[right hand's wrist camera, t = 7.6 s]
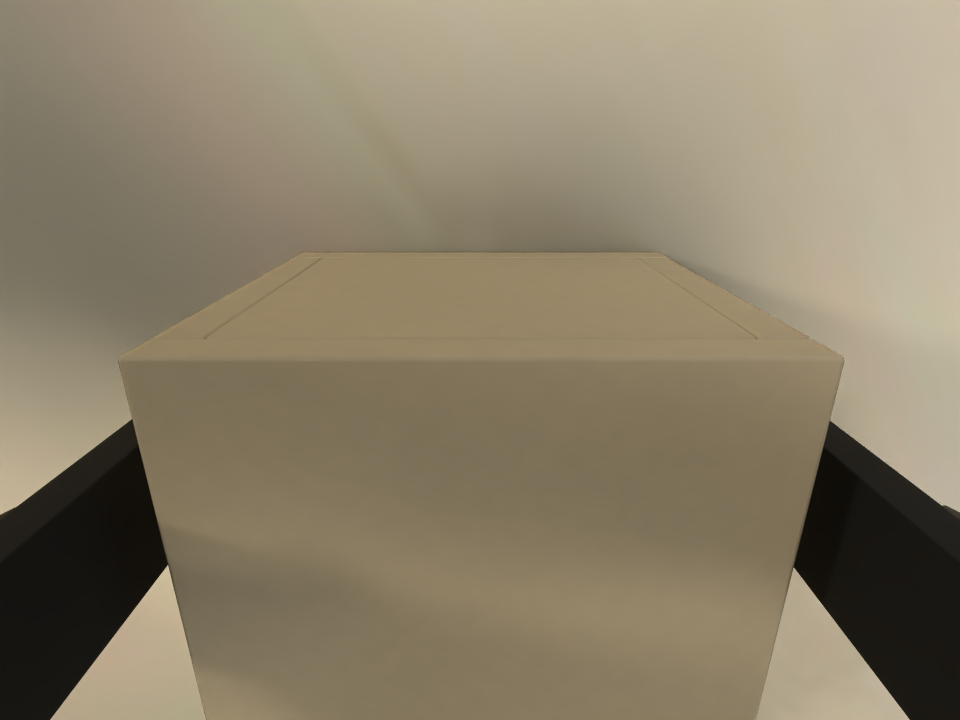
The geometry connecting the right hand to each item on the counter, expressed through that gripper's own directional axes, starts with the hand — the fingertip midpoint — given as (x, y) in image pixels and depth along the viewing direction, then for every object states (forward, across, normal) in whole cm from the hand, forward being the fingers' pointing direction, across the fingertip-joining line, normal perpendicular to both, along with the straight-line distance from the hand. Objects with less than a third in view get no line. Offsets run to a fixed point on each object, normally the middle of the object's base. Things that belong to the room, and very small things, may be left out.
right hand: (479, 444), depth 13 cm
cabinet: (+4, 0, -6) cm, 8 cm away
